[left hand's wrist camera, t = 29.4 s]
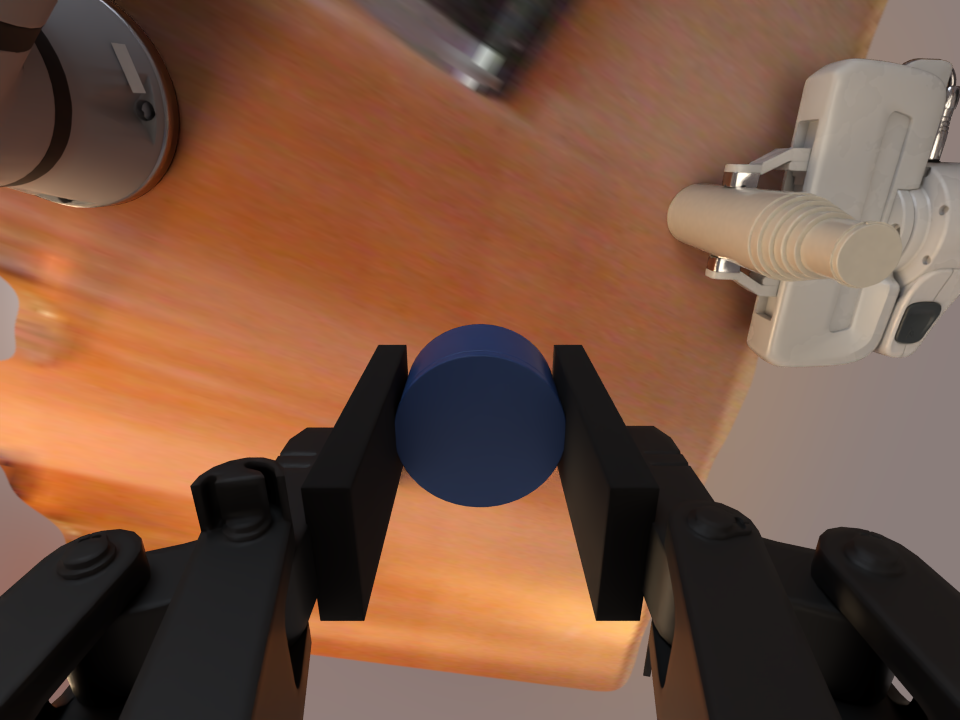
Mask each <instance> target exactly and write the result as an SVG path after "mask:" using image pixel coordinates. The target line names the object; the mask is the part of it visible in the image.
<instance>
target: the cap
mask: <svg viewBox="0 0 960 720" xmlns="http://www.w3.org/2000/svg"><path fill="white" fill-rule="evenodd" d="M565 425H566V418H565V414H564V410H563V407H562V404H561V401H560V398H559V395H558V392H557V389H556V386H555V383H554V380H553V376H552V373H551V370H550V368H549V366H548V364H547V362H546V360H545V358H544V357H543V355H542V354H541V353H540V351H539V350H538V349H537V348H536V347H535V346H534V345H533V344H532V343H531V342H530V341H529V340H527V339H526V338H524V337H523V336H521V335H519V334H518V333H516V332H514V331H511V330H509V329H506V328H503V327H499V326H495V325H486V324H473V325H466V326H461V327H458V328H454V329H452V330H449V331H447V332H445V333H443V334H441V335H439V336H438V337H436V338H435V339H433V340H432V341H431V342H430V343H428V344H427V345H426V346H425V347H424V348H423V349H422V351H421V352H420V353H419V355H418V356H417V357H416V359H415V361H414V363H413V365H412V367H411V369H410V372H409V375H408V378H407V381H406V384H405V387H404V390H403V393H402V396H401V399H400V402H399V405H398V408H397V411H396V415H395V434H396V448H397V453H398V456H399V458H400V460H401V462H402V464H403V466H404V468H405V469H406V471H407V472H408V473H409V475H410V476H411V477H412V478H413V479H414V480H415V481H416V482H417V483H418V484H419V485H420V486H421V487H422V488H424V489H425V490H426V491H428V492H429V493H431V494H433V495H434V496H436V497H438V498H440V499H443V500H445V501H448V502H451V503H454V504H458V505H463V506H470V507H491V506H498V505H502V504H506V503H510V502H513V501H515V500H518V499H520V498H522V497H524V496H526V495H528V494H529V493H531V492H532V491H534V490H535V489H537V488H538V487H539V486H540V485H542V484H543V483H544V482H545V481H546V480H547V479H548V477H549V476H550V475H551V474H552V472H553V471H554V470H555V468H556V467H557V465H558V463H559V461H560V459H561V457H562V454H563V451H564V441H565Z"/></svg>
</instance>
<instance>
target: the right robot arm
mask: <svg viewBox="0 0 960 720" xmlns="http://www.w3.org/2000/svg"><path fill="white" fill-rule="evenodd" d="M947 84H948V85H947ZM959 98H960V86H956V74H955V71H954V69H953V67H952V64H951V63H950V62H948V61H945V60H941V59H922V58H918V59H912V60H909V61H907V62H905V63H903V64H897V63H892V62H886V61H879V60H871V59H857V58H854V59H846V60H841V61H837V62H834V63H830V64H828V65H825V66H823V67H822V68H820V69H819V70H818V71H816V72H815V73H814V74H812V75H811V76H810V77H809V78H808V79H807V80H806V82H805V85H804V89H803V94H802V98H801V103H800V107H799V112H798V116H797V121H796V125H795V129H794V134H793V138H792V143H791V147H790V148H781V149H775V150H773V151H771V152H769V153H767V154H765V155H764V156H762V157H760V158H758V159H756V160H754V161H752V162H751V163H750V164H726V165H725V170H724V176H723V181H722V186H724V187H751V188H757V185H758V181H759V177H760V175H762V174H764V173H766V172H768V171H770V170H772V169H773V170H784V171H785V174H784V178H783V182H782V187H781V190H783V191H794V192H805V193H811V194H814V195H817V196H819V197H823V198H825V199H827V200H829V201H830V202H832V203H833V204H834V205H836V206H838V207H839V208H840V209H841V210H843V211H845V212H846V213H847V214H849V215H850V216H852V217H853V218H855V219H856V220H859V221H870V220H871V221H878V222H885V223H887V224H889V225H891V226H893V227H894V228H895V229H896V230H897V231H898V233H899V235H900V237H901V242H902V254H901V258H900V261H899V263H898V265H897V266H896V268H895V269H894V271H893V272H892V273H891V274H890V275H889V276H888V277H887V278H886V279H884V280H883V281H881V282H879V283H877V284H875V285H872V286H869V287H865V288H858V289H857V288H849V287H846V286H844V285H842V284H840V283H838V282H837V281H835V280H832V279H821V280H819V279H816V280H806V281H793V282H789V281H782V280H775V279H771V278H768V277H765V276H763V275H760V274H758V273H756V272H752V271H751V272H750V274H749V277H748V276H747V275H745V274H744V273H743V272H741V271H740V267H741V266H738V265H736V264H733V263H731V262H728V261H726V260H723V259H721V258H718V257H716V256H714V255H709V258H708V263H707V267H706V272H705V275H706V276H708V277H710V278H714V279H726V280H733V281H734V282H736V283H737V284H738V285H740V286H741V287H743V288H744V289H746V290H748V291H750V292H752V293H754V294H756V295H757V298H756V302H755V306H754V311H753V315H752V320H751V324H750V329H749V333H748V337H747V345H748V346H749V347H750V348H751V350H752V351H753V352H754V353H755V354H756V355H758V356H759V357H760V358H761V359H763V360H764V361H766V362H768V363H770V364H772V365H775V366H779V367H822V366H834V365H843V364H849V363H853V362H856V361H859V360H861V359H863V358H865V357H866V356H868V355H869V354H870V353H871V352H876V353H879V354H882V355H885V356H889V357H894V358H904V357H908V356H910V355H912V354H913V353H914V352H915V351H916V350H917V349H918V347H919V346H920V345H921V343H922V342H923V340H924V339H925V338H926V336H927V335H928V333H929V332H930V331H931V329H932V328H933V326H934V325H935V324H936V322H937V321H938V320H939V318H940V317H941V316H942V315H943V313H944V312H945V311H946V310H947V309H948V307H949V306H950V305H951V304H952V303H953V302H954V301H955V300H956V298H957V297H958V296H959V295H960V163H948V162H940V161H939V160H940V156H941V154H942V151H943V147H944V144H945V141H946V138H947V134H948V129H949V127H948V126H949V124H950V122H949V121H950V120H951V116H952V114H953V111H954V109H955V108H956V106H957V104H958V101H959Z"/></svg>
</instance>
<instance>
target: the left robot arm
mask: <svg viewBox="0 0 960 720" xmlns="http://www.w3.org/2000/svg"><path fill="white" fill-rule="evenodd" d="M178 132H179V114H178V105H177V100H176V95H175V91H174V88H173V84H172V81H171V79H170V76H169V73H168V71H167V69H166V67H165V64H164V62H163V60H162V58H161V57H160V55H159V53H158V51H157V50H156V48H155V47H154V45H153V44H152V42H151V41H150V39H149V38H148V37H147V36H146V34H145V33H144V32H143V31H142V29H141V28H140V27H139V26H138V25H137V24H136V23H135V22H134V21H133V20H132V19H131V18H130V17H129V16H128V15H127V14H126V13H125V12H124V11H122V10H121V9H120V8H118V7H117V6H116V5H115V4H113V3H112V2H110V1H109V0H0V187H8V188H11V189H14V190H18V191H21V192H24V193H27V194H32V195H36V196H38V197H40V198H43V199H46V200H50V201H52V202H55V203H59V204H62V205H67V206H73V207H83V208H91V207H102V206H110V205H118V204H122V203H126V202H129V201H132V200H134V199H136V198H138V197H140V196H142V195H144V194H145V193H147V192H148V191H149V190H151V189H152V188H153V187H154V186H155V185H156V184H157V183H158V182H159V181H160V180H161V178H162V177H163V176H164V174H165V173H166V171H167V169H168V168H169V166H170V164H171V161H172V159H173V156H174V153H175V150H176V146H177V140H178ZM552 376H553V380H554V383H555V386H556V389H557V392H558V395H559V398H560V401H561V404H562V407H563V410H564V414H565V418H566V425H565V441H564V451H563V454H562V457H561V459H560V461H559V463H558V465H557V467H558V471H559V475H560V479H561V483H562V487H563V491H564V495H565V499H566V502H567V506H568V510H569V514H570V518H571V522H572V526H573V530H574V534H575V538H576V542H577V546H578V550H579V554H580V558H581V562H582V566H583V570H584V574H585V578H586V582H587V586H588V590H589V594H590V598H591V602H592V606H593V610H594V614H595V618H596V621H640V616H641V610H642V603H643V596H644V598H645V601H646V603H647V606H648V609H649V611H650V614H651V617H652V622H651V629H650V635H649V641H648V647H647V653H646V660H645V666H644V673H643V675H644V676H649V677H650V675H651V669H652V677H653V686H654V695H655V704H656V713H657V720H960V592H958V591H957V590H956V589H955V588H954V587H953V586H952V585H950V584H949V583H948V582H947V581H946V580H945V579H943V578H942V577H941V576H940V575H939V574H938V573H937V572H935V571H934V570H933V569H932V568H931V567H930V566H928V565H927V564H926V563H925V562H924V561H923V560H922V559H920V558H919V557H918V556H917V555H915V554H914V553H912V552H911V551H909V550H908V549H907V548H905V547H904V546H902V545H901V544H899V543H897V542H895V541H893V540H891V539H888V538H886V537H884V536H883V535H880V534H877V533H874V532H869V531H868V530H863V529H858V528H848V527H838V528H832V529H827V530H826V531H825V532H824V533H823V534H822V535H820V537H819V540H818V544H817V547H816V550H814V549H810V548H805V547H800V546H795V545H791V544H786V543H781V542H777V541H773V540H769V539H766V538H762V537H761V535H760V533H759V531H758V529H757V528H756V526H755V525H754V524H753V522H752V521H751V520H750V519H749V518H747V517H746V516H744V515H743V514H742V513H740V512H739V511H738V510H735V509H733V508H731V507H729V506H726V505H724V504H722V503H717V502H714V500H713V499H712V497H711V496H710V494H709V493H708V491H707V490H706V488H705V487H704V485H703V484H702V483H701V481H700V480H699V478H698V477H697V475H696V474H695V472H694V471H693V469H692V468H691V466H688V462H687V461H686V459H685V458H684V456H683V455H682V454H680V450H679V449H678V447H677V446H676V444H675V443H674V442H673V440H672V439H671V437H669V436H668V435H666V434H665V433H663V432H662V431H660V430H659V429H657V428H656V427H654V426H626V425H625V423H624V422H623V420H622V418H621V416H620V414H619V412H618V411H617V409H616V407H615V405H614V403H613V401H612V400H611V398H610V396H609V394H608V392H607V390H606V389H605V387H604V385H603V383H602V381H601V379H600V377H599V376H598V374H597V372H596V370H595V368H594V366H593V365H592V363H591V361H590V359H589V357H588V355H587V354H586V352H585V350H584V348H583V346H582V345H554V354H553V372H552ZM407 378H408V366H407V347H406V345H378V347H377V349H376V351H375V352H374V354H373V356H372V358H371V360H370V362H369V363H368V365H367V367H366V369H365V371H364V373H363V374H362V376H361V378H360V380H359V382H358V384H357V386H356V387H355V389H354V391H353V393H352V395H351V397H350V398H349V400H348V402H347V404H346V406H345V408H344V409H343V411H342V413H341V415H340V417H339V419H338V420H337V422H336V424H335V426H334V428H306V429H304V430H303V431H301V432H300V433H298V434H297V435H296V436H294V437H293V438H291V439H290V440H289V441H288V443H287V444H286V446H285V447H284V449H283V450H282V452H281V453H280V456H278V457H277V459H276V460H271V459H267V458H243V459H237V460H232V461H228V462H226V463H223V464H221V465H218V466H215V467H213V468H211V469H210V470H208V471H206V472H205V473H203V474H202V475H200V476H199V477H198V478H197V479H196V480H195V481H194V483H193V484H192V485H191V486H190V487H191V491H192V495H193V499H194V503H195V507H196V511H197V516H198V520H199V524H200V528H201V533H200V536H199V538H198V540H196V541H192V542H188V543H185V544H180V545H176V546H171V547H166V548H161V549H157V550H152V551H147V552H145V549H144V545H143V542H142V539H141V538H140V537H139V536H138V535H137V534H136V533H135V532H133V531H128V530H122V529H116V530H106V531H100V532H95V533H92V534H88V535H85V536H82V537H79V538H77V539H76V540H74V541H71V542H69V543H67V544H65V545H63V546H61V547H59V548H58V549H57V550H55V551H54V552H52V553H51V554H49V555H48V556H47V557H45V558H44V559H43V560H41V561H40V562H39V563H38V564H37V565H36V566H35V567H33V568H32V569H31V570H30V571H29V572H28V573H27V574H25V575H24V576H23V577H22V578H21V579H20V580H19V581H17V582H16V583H15V584H14V585H13V586H12V587H11V588H9V589H8V590H7V591H6V592H5V593H4V594H3V595H1V596H0V720H303V714H304V705H305V696H306V687H307V678H308V669H309V660H310V652H311V635H310V629H309V622H308V620H309V618H310V615H311V612H312V610H313V607H314V604H315V602H316V599H317V601H318V607H319V614H320V621H364V620H365V616H366V612H367V608H368V604H369V600H370V596H371V592H372V588H373V584H374V580H375V576H376V572H377V568H378V564H379V560H380V556H381V552H382V548H383V544H384V540H385V536H386V532H387V528H388V524H389V520H390V516H391V512H392V508H393V504H394V500H395V496H396V492H397V488H398V484H399V480H400V476H401V472H402V468H403V464H402V462H401V460H400V458H399V456H398V453H397V448H396V434H395V415H396V411H397V408H398V405H399V402H400V399H401V396H402V393H403V390H404V387H405V384H406V381H407ZM894 675H895V676H896V677H897V678H898V680H899V681H900V682H901V683H902V685H903V686H904V687H905V688H906V689H907V690H908V692H909V693H910V694H911V695H912V696H913V699H912V701H911V702H909V701H908V700H907V699H906V698H904V697H903V696H902V695H901V694H900V693H899V691H898V690H897V689H896V688H895V686H894V685H893V684H892V680H893V678H894ZM66 678H67V679H68V681H69V684H70V685H69V686H68V688H67V689H66V690H65V691H64V693H63V694H62V695H61V696H60V697H59V698H58V699H56V700H55V701H54V702H53V703H52V704H51V703H50V702H49V698H50V697H51V696H52V695H53V694H54V693H55V691H56V690H57V689H58V688H59V687H60V685H61V684H62V683H63V682H64V681H65V679H66Z"/></svg>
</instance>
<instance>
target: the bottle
mask: <svg viewBox="0 0 960 720" xmlns="http://www.w3.org/2000/svg"><path fill="white" fill-rule="evenodd" d="M667 223H668V227H669V230H670V232H671V234H672V235H673V236H674V237H675V238H676V239H677V240H678V241H680V242H682V243H684V244H686V245H689V246H691V247H694V248H696V249H699V250H701V251H704V252H706V253H709V254H711V255H714V256H716V257H718V258H721V259H723V260H726V261H728V262H731V263H733V264H736V265H738V266H741V267H743V268H746V269H748V270H751V271H753V272H756V273H758V274H760V275H763V276H765V277H768V278H771V279H775V280H782V281H789V282H793V281H806V280H816V279H819V280H821V279H832V280H835V281H837V282H838V283H840V284H842V285H844V286H846V287H849V288H857V289H858V288H865V287H869V286H872V285H875V284H877V283H879V282H881V281H883V280H884V279H886V278H887V277H888V276H889V275H890V274H891V273H892V272H893V271H894V269H895V268H896V266H897V265H898V263H899V261H900V258H901V254H902V242H901V237H900V235H899V233H898V231H897V230H896V229H895V228H894V227H893V226H891V225H889V224H887V223H885V222H878V221H871V220H870V221H859V220H856V219H855V218H853V217H852V216H850V215H849V214H847V213H846V212H845V211H843V210H841V209H840V208H839V207H838V206H836V205H834V204H833V203H832V202H830V201H829V200H827V199H825V198H823V197H819V196H817V195H814V194H811V193H805V192H794V191H783V190H772V189H761V188H751V187H724V186H722V185H718V184H707V183H697V184H693V185H690V186H688V187H686V188H684V189H683V190H681V191H680V192H679V193H678V194H677V195H676V196H675V198H674V199H673V200H672V202H671V204H670V206H669V209H668V214H667Z"/></svg>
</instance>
